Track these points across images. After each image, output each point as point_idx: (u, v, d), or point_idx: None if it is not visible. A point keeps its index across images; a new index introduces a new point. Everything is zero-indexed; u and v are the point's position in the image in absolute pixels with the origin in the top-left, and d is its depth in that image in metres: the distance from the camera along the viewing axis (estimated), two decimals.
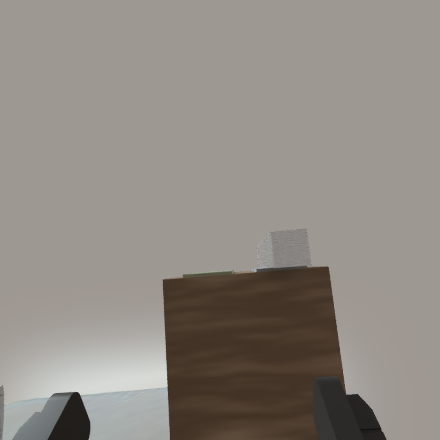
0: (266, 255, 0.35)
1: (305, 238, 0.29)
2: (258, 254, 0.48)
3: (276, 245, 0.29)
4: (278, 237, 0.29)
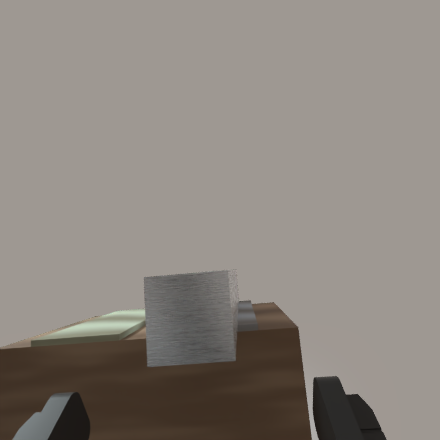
0: None
1: (223, 295, 0.12)
2: None
3: (155, 310, 0.12)
4: (161, 291, 0.12)
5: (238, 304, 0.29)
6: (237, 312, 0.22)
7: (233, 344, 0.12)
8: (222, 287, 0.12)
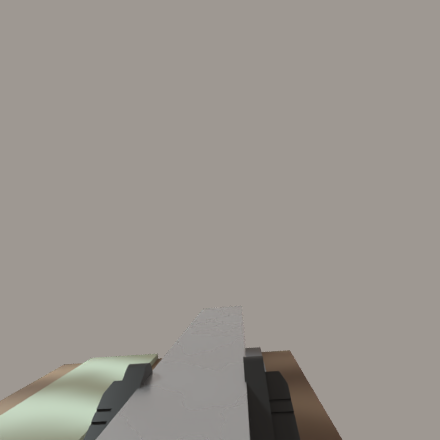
0: None
1: None
2: None
3: None
4: None
5: None
6: None
7: None
8: None
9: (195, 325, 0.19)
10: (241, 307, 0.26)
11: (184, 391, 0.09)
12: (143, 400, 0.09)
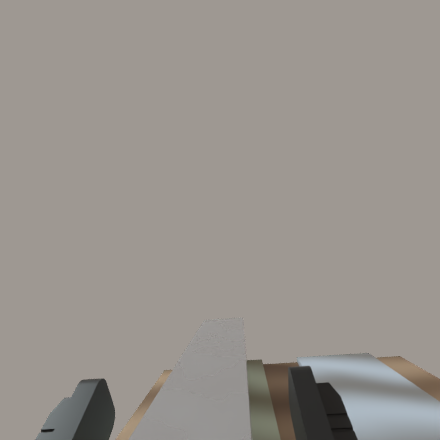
0: None
1: None
2: None
3: None
4: None
5: None
6: (251, 425, 0.15)
7: None
8: None
9: (196, 341, 0.19)
10: (242, 319, 0.26)
11: (186, 429, 0.09)
12: (144, 439, 0.08)
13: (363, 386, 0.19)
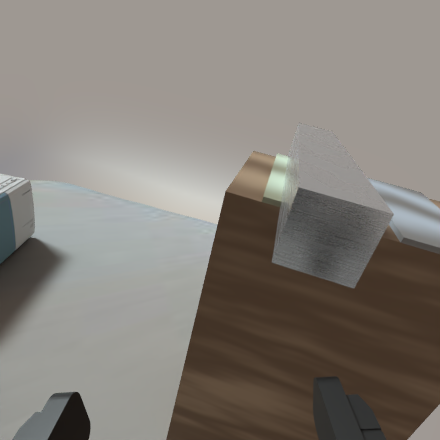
0: (287, 186, 0.18)
1: (374, 234, 0.11)
2: (294, 139, 0.29)
3: (297, 222, 0.12)
4: (311, 207, 0.11)
5: None
6: None
7: (358, 275, 0.12)
8: (377, 227, 0.11)
9: (303, 134, 0.24)
10: None
11: (331, 172, 0.14)
12: (308, 168, 0.14)
13: (411, 207, 0.25)
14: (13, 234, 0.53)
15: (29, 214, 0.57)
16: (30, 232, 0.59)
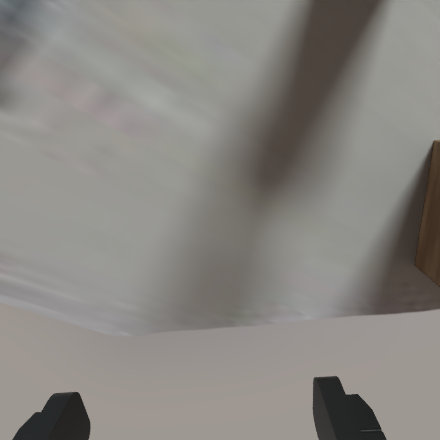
0: None
1: None
2: None
3: None
4: None
5: None
6: None
7: None
8: None
9: None
10: None
11: None
12: None
13: None
14: None
15: None
16: None
